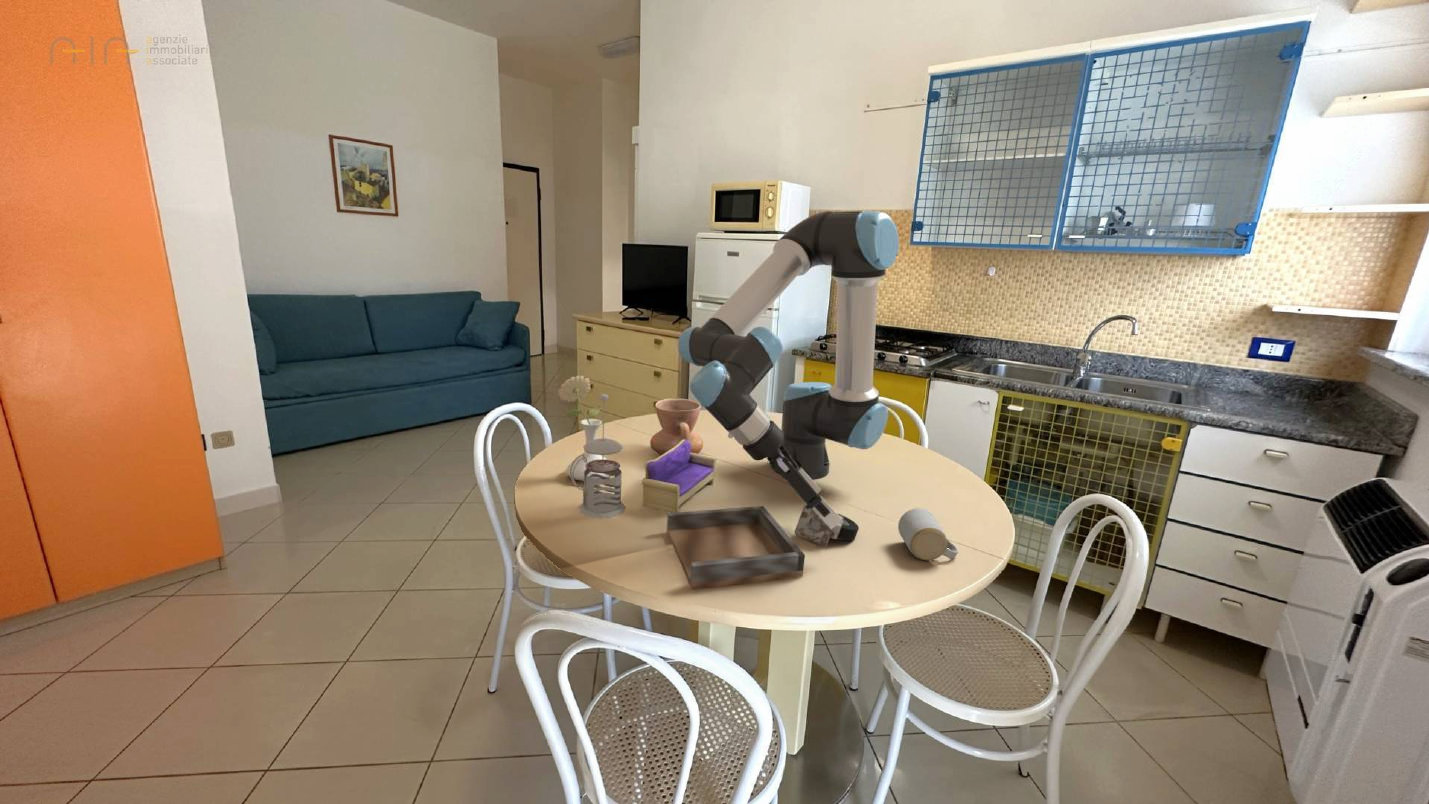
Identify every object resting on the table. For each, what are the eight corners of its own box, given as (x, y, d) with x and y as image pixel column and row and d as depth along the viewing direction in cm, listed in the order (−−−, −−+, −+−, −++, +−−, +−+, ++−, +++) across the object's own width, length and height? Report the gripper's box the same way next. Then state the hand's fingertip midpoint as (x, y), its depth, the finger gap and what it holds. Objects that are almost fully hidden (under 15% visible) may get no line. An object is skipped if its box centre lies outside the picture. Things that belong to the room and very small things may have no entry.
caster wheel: (852, 542, 119) (848, 558, 109) (801, 520, 122) (793, 534, 112) (863, 513, 118) (860, 526, 108) (811, 492, 121) (804, 503, 111)
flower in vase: (610, 466, 145) (612, 370, 139) (618, 484, 134) (620, 380, 128) (557, 470, 141) (556, 370, 134) (560, 488, 130) (559, 381, 124)
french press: (632, 513, 120) (635, 398, 114) (578, 523, 114) (578, 402, 108) (616, 495, 128) (618, 387, 122) (564, 504, 122) (564, 390, 116)
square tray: (761, 524, 118) (763, 506, 117) (802, 576, 100) (804, 555, 99) (666, 532, 113) (667, 513, 112) (691, 589, 94) (692, 566, 93)
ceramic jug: (646, 443, 164) (647, 395, 160) (696, 442, 167) (698, 395, 163) (654, 467, 147) (656, 415, 143) (709, 465, 150) (712, 414, 146)
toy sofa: (675, 516, 120) (678, 471, 118) (640, 507, 123) (641, 463, 121) (716, 483, 139) (718, 443, 136) (684, 476, 142) (686, 437, 139)
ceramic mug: (907, 562, 107) (914, 524, 105) (894, 540, 115) (900, 505, 113) (963, 566, 107) (971, 529, 105) (947, 544, 115) (954, 509, 113)
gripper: (731, 426, 119) (795, 494, 124) (752, 470, 95) (830, 552, 100) (759, 402, 118) (821, 471, 123) (786, 440, 94) (863, 525, 99)
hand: (825, 508), depth 112 cm, fingers open, 13 cm apart
